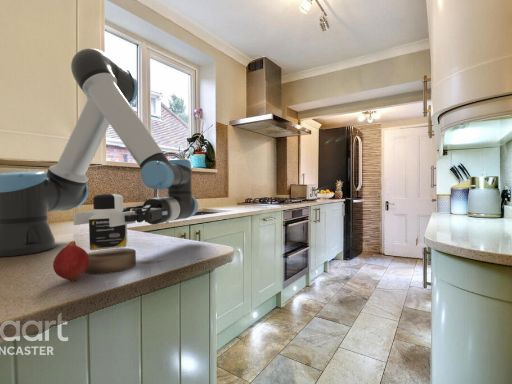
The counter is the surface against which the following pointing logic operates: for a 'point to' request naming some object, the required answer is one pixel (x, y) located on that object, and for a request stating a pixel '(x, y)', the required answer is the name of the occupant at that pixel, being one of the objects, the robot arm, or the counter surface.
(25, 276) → the counter surface
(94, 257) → the walnut stand
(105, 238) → the medicine bottle
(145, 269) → the counter surface
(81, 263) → the onion
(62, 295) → the counter surface
